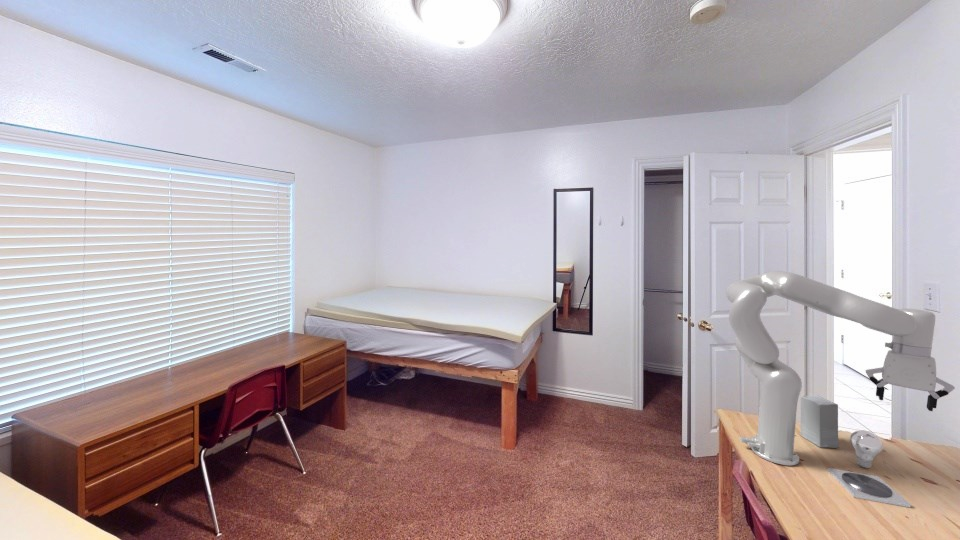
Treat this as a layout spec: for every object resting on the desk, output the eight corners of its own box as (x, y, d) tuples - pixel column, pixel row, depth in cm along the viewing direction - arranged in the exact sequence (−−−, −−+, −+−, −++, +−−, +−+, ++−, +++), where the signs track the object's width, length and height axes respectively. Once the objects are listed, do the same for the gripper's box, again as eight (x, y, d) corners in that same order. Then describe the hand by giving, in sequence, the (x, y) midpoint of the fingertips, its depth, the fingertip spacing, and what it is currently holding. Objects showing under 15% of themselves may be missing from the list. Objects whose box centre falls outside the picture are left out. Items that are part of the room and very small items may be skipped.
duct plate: (853, 497, 99) (853, 492, 99) (827, 470, 111) (828, 467, 110) (910, 507, 95) (910, 503, 95) (877, 479, 107) (877, 475, 107)
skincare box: (838, 448, 122) (842, 405, 121) (817, 448, 123) (820, 404, 122) (816, 435, 131) (820, 394, 130) (796, 434, 131) (799, 394, 130)
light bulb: (886, 475, 108) (890, 438, 107) (859, 472, 110) (863, 436, 109) (866, 462, 115) (870, 427, 114) (841, 459, 116) (844, 424, 115)
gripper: (869, 346, 109) (863, 398, 111) (962, 359, 97) (954, 418, 99) (867, 341, 115) (861, 391, 116) (954, 353, 103) (947, 409, 104)
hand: (904, 404), depth 108 cm, fingers open, 9 cm apart
